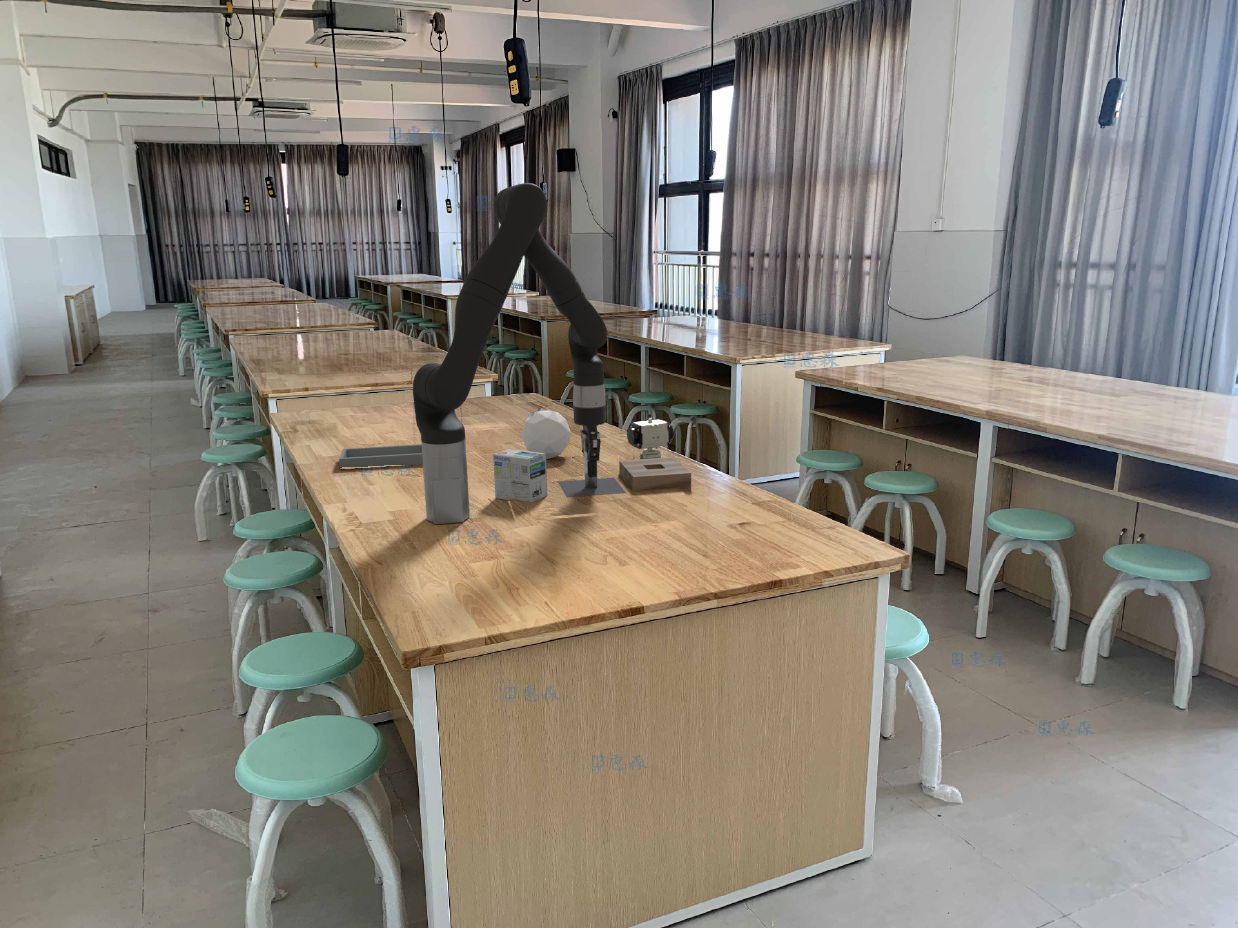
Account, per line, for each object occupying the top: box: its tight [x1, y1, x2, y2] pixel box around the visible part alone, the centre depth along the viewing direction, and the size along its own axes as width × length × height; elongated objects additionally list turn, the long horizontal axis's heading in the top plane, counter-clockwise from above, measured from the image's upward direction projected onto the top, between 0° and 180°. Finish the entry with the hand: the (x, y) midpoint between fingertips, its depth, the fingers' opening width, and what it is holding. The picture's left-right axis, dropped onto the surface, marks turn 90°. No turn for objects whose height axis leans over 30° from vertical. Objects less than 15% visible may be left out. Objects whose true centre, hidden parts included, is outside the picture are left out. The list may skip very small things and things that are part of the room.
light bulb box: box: [492, 448, 549, 503], centre depth 207 cm, size 11×7×11 cm, turn 59°
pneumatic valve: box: [626, 417, 675, 459], centre depth 237 cm, size 6×12×12 cm, turn 116°
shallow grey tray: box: [338, 443, 423, 469], centre depth 244 cm, size 12×23×3 cm, turn 102°
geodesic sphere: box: [520, 407, 572, 460], centre depth 245 cm, size 14×14×14 cm
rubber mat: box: [557, 477, 627, 498], centre depth 215 cm, size 14×14×1 cm
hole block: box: [618, 456, 692, 492], centre depth 220 cm, size 16×14×4 cm
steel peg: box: [583, 447, 598, 489], centre depth 214 cm, size 3×3×10 cm
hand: (591, 474), depth 214 cm, fingers closed on steel peg, 3 cm apart
